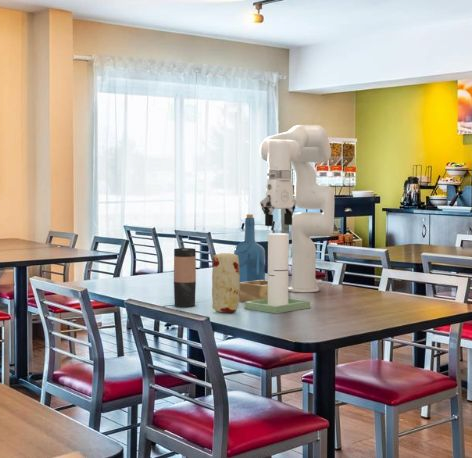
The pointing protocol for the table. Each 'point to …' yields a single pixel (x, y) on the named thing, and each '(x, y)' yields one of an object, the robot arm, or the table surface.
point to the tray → (263, 306)
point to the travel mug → (184, 277)
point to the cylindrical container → (278, 268)
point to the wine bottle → (250, 254)
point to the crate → (253, 290)
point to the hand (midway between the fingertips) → (278, 225)
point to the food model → (225, 282)
